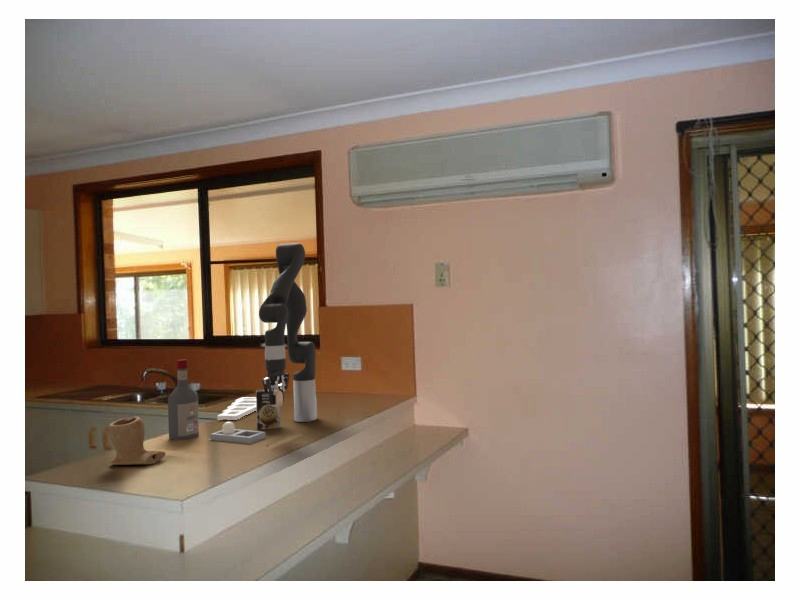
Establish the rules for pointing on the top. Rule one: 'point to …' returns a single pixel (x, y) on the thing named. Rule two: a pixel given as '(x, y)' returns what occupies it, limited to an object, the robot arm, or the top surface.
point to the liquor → (183, 407)
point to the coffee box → (266, 411)
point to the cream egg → (228, 428)
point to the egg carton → (239, 436)
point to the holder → (239, 409)
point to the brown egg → (278, 398)
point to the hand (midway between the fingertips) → (277, 403)
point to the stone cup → (131, 443)
